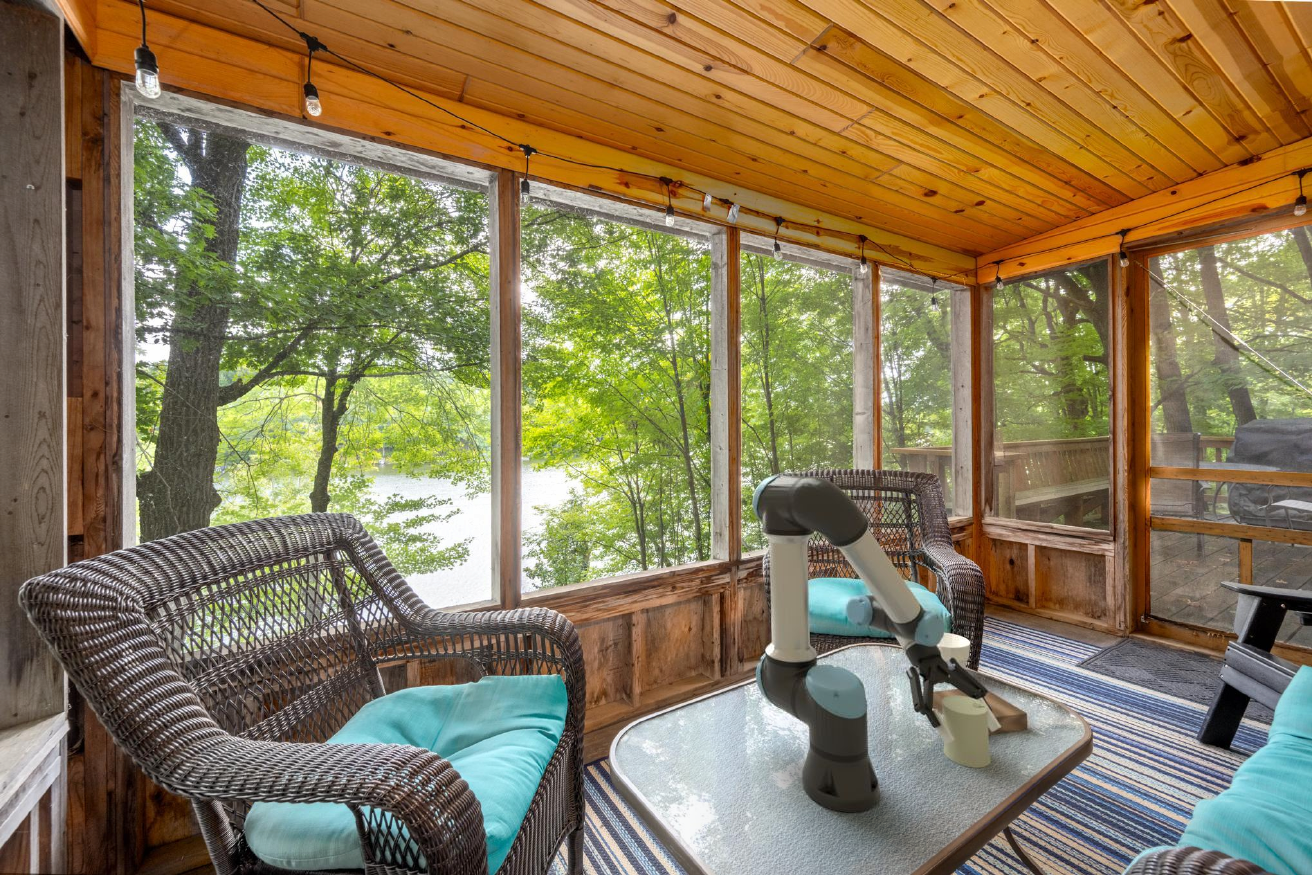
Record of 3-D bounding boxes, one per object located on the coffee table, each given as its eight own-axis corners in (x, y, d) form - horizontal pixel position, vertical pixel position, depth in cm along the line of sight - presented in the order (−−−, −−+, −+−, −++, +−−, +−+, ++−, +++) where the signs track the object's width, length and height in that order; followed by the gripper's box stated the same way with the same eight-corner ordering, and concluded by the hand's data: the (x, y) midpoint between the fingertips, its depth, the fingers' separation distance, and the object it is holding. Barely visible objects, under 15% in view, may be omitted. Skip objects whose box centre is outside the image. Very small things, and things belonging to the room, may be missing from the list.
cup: (922, 665, 169) (920, 630, 169) (967, 669, 165) (965, 633, 165) (928, 683, 157) (926, 645, 157) (976, 687, 153) (974, 648, 153)
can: (997, 769, 116) (995, 713, 116) (951, 766, 118) (948, 711, 118) (981, 745, 125) (978, 693, 125) (938, 742, 127) (935, 691, 127)
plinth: (972, 736, 129) (971, 719, 129) (931, 706, 143) (930, 691, 144) (1027, 729, 131) (1026, 713, 131) (982, 700, 146) (981, 686, 146)
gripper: (948, 644, 140) (1004, 730, 126) (870, 660, 133) (920, 753, 118) (965, 630, 135) (1025, 718, 121) (884, 645, 128) (939, 741, 113)
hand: (973, 735), depth 120 cm, fingers open, 13 cm apart
